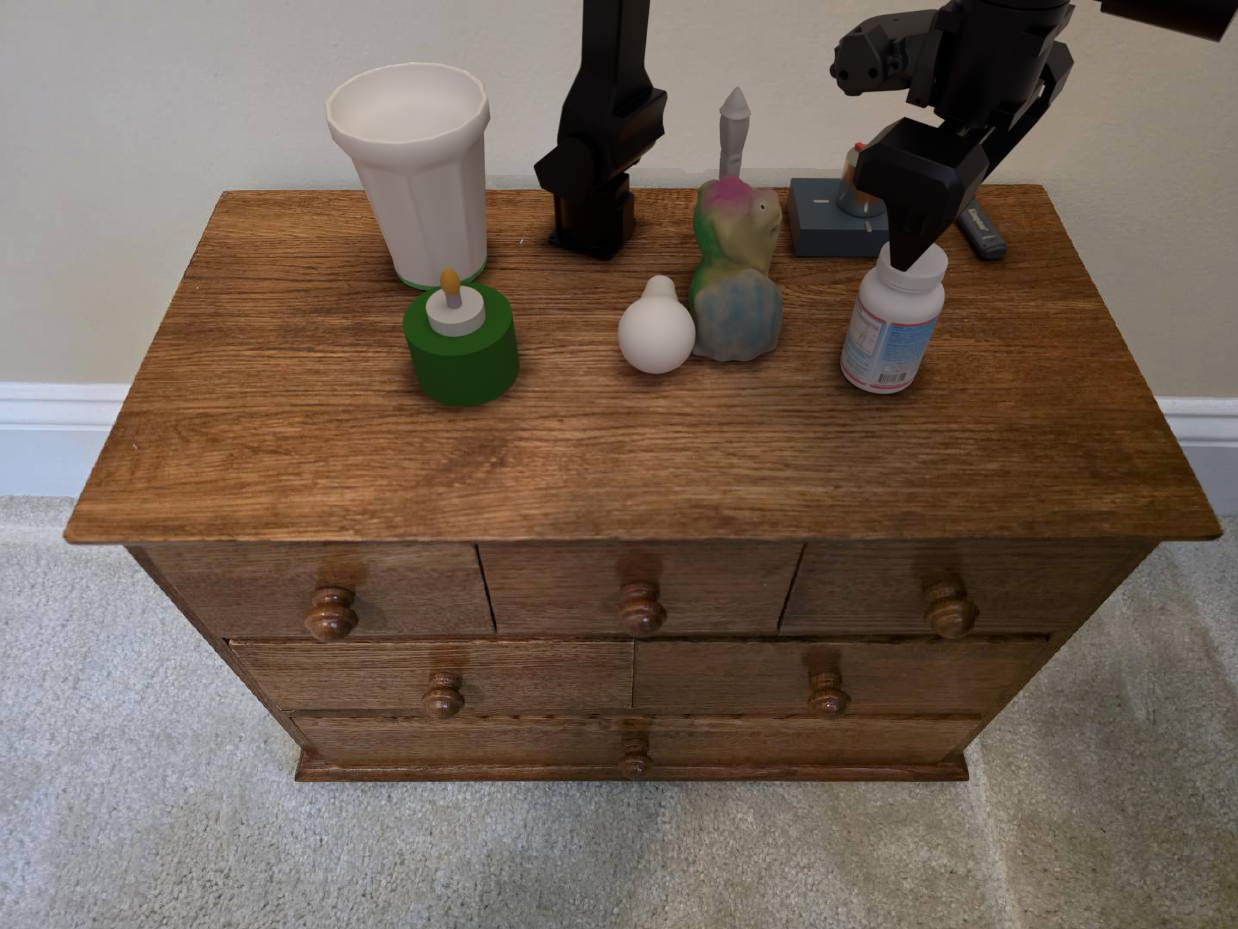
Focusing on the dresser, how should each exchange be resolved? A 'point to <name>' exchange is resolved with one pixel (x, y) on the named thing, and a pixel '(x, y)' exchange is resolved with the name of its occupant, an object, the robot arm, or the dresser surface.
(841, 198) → the dial knob
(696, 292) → the sculpture
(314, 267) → the dresser surface
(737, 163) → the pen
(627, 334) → the lightbulb
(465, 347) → the candle
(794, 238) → the dial base
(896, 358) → the pill bottle
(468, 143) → the cup
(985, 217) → the usb stick
